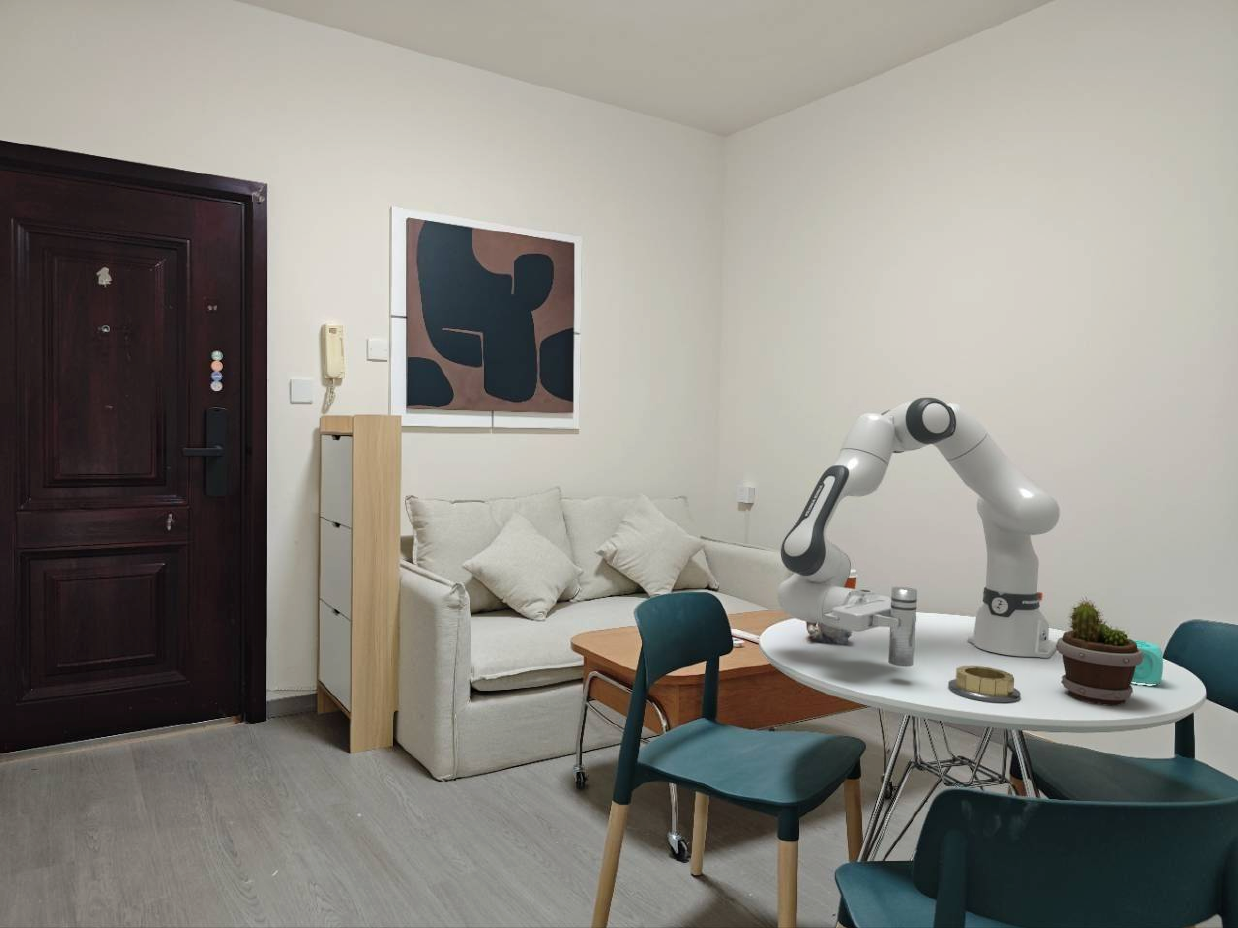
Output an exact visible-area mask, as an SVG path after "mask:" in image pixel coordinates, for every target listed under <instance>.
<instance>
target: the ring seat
mask: <svg viewBox="0 0 1238 928" xmlns="http://www.w3.org/2000/svg"><path fill="white" fill-rule="evenodd" d="M947 684H948V685H947V688H948V690H949V691H950V692H952V693H953V694H956V695H957V696H960V697H963V698H966V699H970V700H974V701H979V702H984V703H985V702H987V703H994V704H1011V703H1016V702H1018V701H1020V700H1021V695H1022V694H1021V692H1020V691H1019V690H1018V689H1017V688H1015V677H1014V676H1013V674H1012V673H1010V672H1007V671H1005V670H1001V669H998V668H994V667H988V666H980V665H961V666H959V667H956V670H955V679H954V678H953V679H951V680H949V681H948V683H947Z"/></svg>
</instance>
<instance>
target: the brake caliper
mask: <svg viewBox="0 0 1238 928" xmlns="http://www.w3.org/2000/svg"><path fill="white" fill-rule="evenodd" d="M805 624H806V631H807V633H808V635H807V636H806V637H805V639H806V642H807V644H810V645H812V644H813V642H814V641H815V642H816V643H823V644H824V643H827V644H836V645H837V644H840V645H845V643H846V642H847V641H848V639H849V638H850V637H851V636H852V634H853V631H846V630H841V629H837V628H833V627H829V626H826V625H824V624H823V623H810V622H806V621H805Z"/></svg>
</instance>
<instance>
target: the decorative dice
mask: <svg viewBox="0 0 1238 928" xmlns="http://www.w3.org/2000/svg"><path fill="white" fill-rule="evenodd" d="M1130 639H1131V638H1130ZM1131 640H1133V641H1134V642H1136V644H1137V648H1138V649H1140V650H1141V651H1142V652H1143V655H1144V658H1143V662H1142V663H1141V664H1140V665H1137V666H1136V668H1135V672H1134V676H1133V679H1132V681H1131V682H1136V683H1145V684H1157V683H1158V684H1160V683H1161V680H1162V677H1163V669H1164V658H1163V657H1164V656H1163V652H1162V648H1161V647H1160V646H1159V645H1158V644H1155V643H1153V642H1150V641H1146V640H1140V639H1133V638H1132V639H1131ZM1158 684H1157V685H1158Z"/></svg>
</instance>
